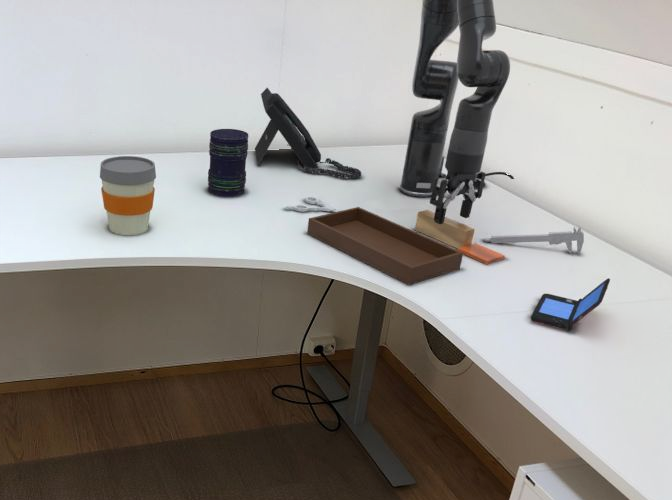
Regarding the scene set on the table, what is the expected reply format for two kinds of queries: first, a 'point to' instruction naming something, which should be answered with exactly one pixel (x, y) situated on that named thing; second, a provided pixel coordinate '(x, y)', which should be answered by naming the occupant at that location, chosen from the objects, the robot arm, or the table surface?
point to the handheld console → (567, 308)
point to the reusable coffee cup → (128, 193)
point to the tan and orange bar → (455, 236)
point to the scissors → (306, 208)
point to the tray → (385, 245)
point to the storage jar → (227, 162)
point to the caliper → (545, 238)
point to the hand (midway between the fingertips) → (451, 219)
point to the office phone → (294, 137)
